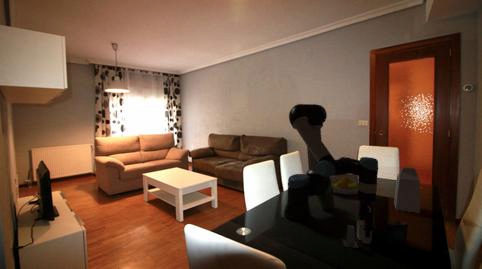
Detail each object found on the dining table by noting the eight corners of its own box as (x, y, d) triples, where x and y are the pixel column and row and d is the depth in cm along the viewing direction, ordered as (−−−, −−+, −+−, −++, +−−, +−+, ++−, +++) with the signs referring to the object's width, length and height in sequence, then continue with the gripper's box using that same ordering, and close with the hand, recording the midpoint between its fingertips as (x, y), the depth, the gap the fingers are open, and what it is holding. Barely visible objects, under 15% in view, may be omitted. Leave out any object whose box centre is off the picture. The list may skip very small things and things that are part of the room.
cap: (356, 235, 113) (357, 219, 113) (368, 236, 112) (369, 221, 111) (358, 240, 108) (359, 224, 108) (371, 242, 107) (372, 226, 106)
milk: (395, 210, 144) (398, 168, 142) (393, 203, 154) (396, 164, 152) (420, 214, 138) (423, 170, 136) (416, 207, 148) (419, 166, 146)
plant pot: (338, 205, 136) (333, 186, 141) (318, 209, 139) (313, 190, 145) (339, 208, 146) (333, 190, 151) (319, 211, 149) (315, 194, 155)
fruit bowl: (316, 189, 183) (317, 175, 182) (341, 185, 195) (342, 171, 194) (346, 201, 158) (347, 185, 157) (373, 195, 169) (374, 180, 168)
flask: (403, 240, 109) (405, 217, 108) (408, 243, 106) (410, 220, 105) (385, 240, 108) (386, 218, 107) (389, 244, 106) (391, 221, 105)
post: (342, 239, 109) (342, 222, 108) (356, 241, 107) (357, 224, 107) (344, 246, 103) (344, 228, 103) (358, 248, 102) (359, 230, 101)
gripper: (353, 183, 119) (351, 226, 121) (363, 198, 99) (360, 249, 101) (369, 185, 117) (367, 228, 119) (383, 200, 97) (379, 252, 99)
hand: (364, 238), depth 110 cm, fingers open, 8 cm apart
